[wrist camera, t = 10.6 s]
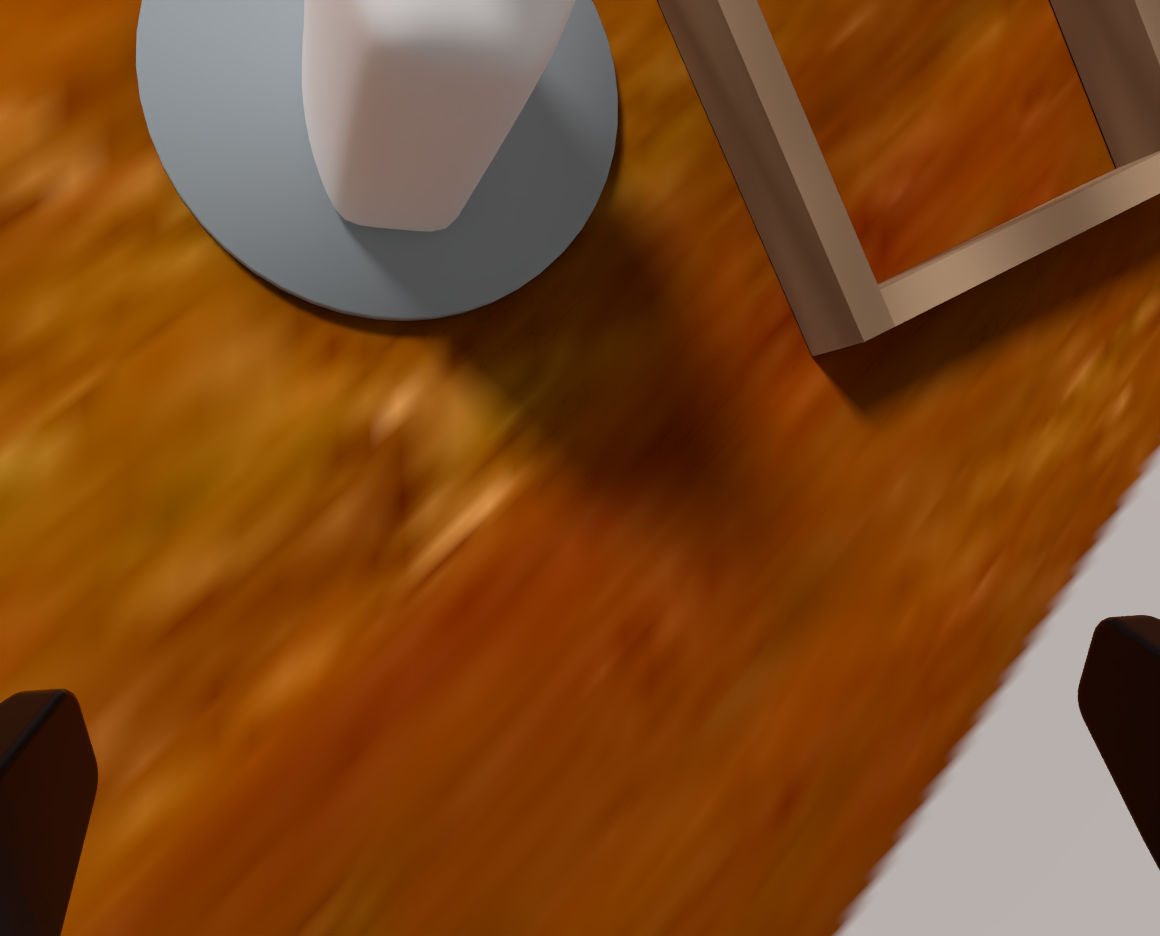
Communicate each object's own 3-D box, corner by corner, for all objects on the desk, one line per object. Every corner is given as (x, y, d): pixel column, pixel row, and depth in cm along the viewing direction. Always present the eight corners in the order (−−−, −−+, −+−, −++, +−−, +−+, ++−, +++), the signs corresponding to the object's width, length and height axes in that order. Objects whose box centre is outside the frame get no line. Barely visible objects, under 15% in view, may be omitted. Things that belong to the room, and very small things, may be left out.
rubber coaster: (275, 396, 18) (276, 394, 18) (47, -68, 17) (42, -80, 17) (680, 221, 21) (687, 216, 20) (497, -192, 20) (501, -205, 19)
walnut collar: (812, 356, 21) (864, 341, 20) (610, -108, 20) (643, -171, 19) (1151, 187, 24) (1225, 160, 22) (988, -226, 23) (1051, -291, 21)
